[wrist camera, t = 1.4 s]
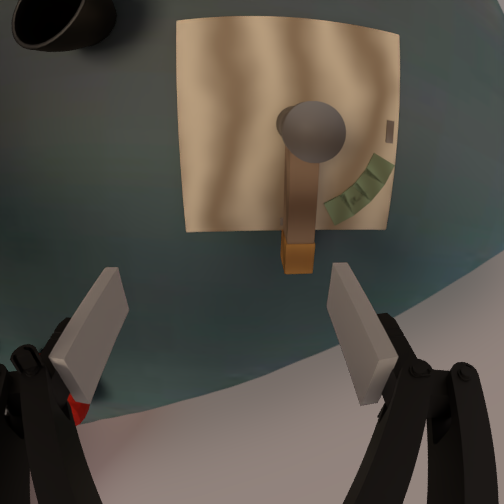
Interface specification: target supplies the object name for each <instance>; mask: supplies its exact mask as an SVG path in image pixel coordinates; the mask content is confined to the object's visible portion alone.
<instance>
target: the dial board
mask: <svg viewBox="0 0 504 504" xmlns="http://www.w3.org/2000/svg"><path fill="white" fill-rule="evenodd" d="M176 59H177V105H178V129H179V147H180V163H181V177H182V190H183V202H184V213H185V224H186V232H213V231H260V230H282V229H283V209H284V172H285V144H284V142H283V139H282V137H281V136H280V134H279V133H278V131H277V127H276V121H277V117H278V115H279V114H280V112H281V111H282V110H283V109H285V108H287V107H290V106H295V105H296V104H299V103H301V102H306V101H319V102H324V103H326V104H329V105H330V106H332V107H333V108H335V109H336V110H337V111H338V112H339V114H340V115H341V117H342V118H343V120H344V123H345V127H346V139H345V142H344V145H343V147H342V149H341V150H340V152H339V153H338V154H337V155H336V156H335V157H333V158H332V159H330V160H328V161H326V162H322V163H319V181H318V197H317V212H316V225H315V230H386V226H387V220H388V214H389V207H390V200H391V193H392V185H393V177H394V168H395V158H396V148H397V135H398V120H399V97H400V46H399V35H398V34H394V33H390V32H386V31H381V30H377V29H372V28H367V27H362V26H356V25H351V24H345V23H338V22H331V21H323V20H314V19H304V18H291V17H272V16H230V17H210V18H198V19H187V20H179V21H177V34H176Z"/></svg>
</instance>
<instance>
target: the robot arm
mask: <svg viewBox="0 0 504 504" xmlns="http://www.w3.org/2000/svg"><path fill="white" fill-rule="evenodd" d="M327 310H328V313H329V315H330V318H331V321H332V324H333V326H334V329H335V332H336V335H337V338H338V341H339V343H340V346H341V349H342V352H343V355H344V358H345V360H346V364H347V367H348V370H349V372H350V376H351V379H352V381H353V384H354V388H355V391H356V394H357V397H358V400H359V403H360V406H362V405H368V404H374V403H378V401H379V399H380V397H381V395H383V398H384V401H385V403H384V405H383V407H382V409H381V411H380V413H379V415H378V418H379V419H378V422H377V425H376V427H375V430H374V433H373V435H372V438H371V441H370V443H369V446H368V448H367V451H366V454H365V456H364V458H363V461H362V463H361V466H360V468H359V470H358V473H357V475H356V477H355V479H354V482H353V483H352V486H351V488H350V490H349V492H348V494H347V496H346V498H345V500H344V502H343V504H403V501H404V498H405V495H406V492H407V489H408V486H409V483H410V480H411V477H412V473H413V470H414V467H415V463H416V460H417V456H418V452H419V448H420V444H421V440H422V436H423V431H424V427H425V422H426V419H427V437H428V438H427V439H428V492H427V504H499V503H498V485H497V472H496V463H495V454H494V447H493V440H492V435H491V428H490V423H489V418H488V413H487V408H486V403H485V400H484V395H483V391H482V387H481V383H480V379H479V375H478V373H477V371H476V369H475V368H474V367H473V366H472V365H470V364H468V363H465V362H458V363H456V364H454V365H453V367H452V368H451V370H450V371H444V370H434V369H432V368H431V366H430V365H429V364H428V363H427V362H425V361H423V360H421V359H417V357H416V355H415V354H414V352H413V350H412V348H411V346H410V345H409V343H408V341H407V339H406V338H405V336H404V334H403V332H402V331H401V329H400V327H399V325H398V324H397V322H396V320H395V319H394V318H392V317H391V316H390V315H389V314H388V313H382V314H376V313H375V311H374V309H373V307H372V305H371V303H370V302H369V300H368V298H367V296H366V294H365V293H364V291H363V289H362V287H361V286H360V284H359V282H358V280H357V279H356V277H355V275H354V273H353V272H352V270H351V268H350V267H349V265H348V263H347V262H346V263H333V265H332V273H331V280H330V287H329V294H328V300H327ZM128 311H129V307H128V304H127V300H126V297H125V293H124V289H123V285H122V281H121V277H120V273H119V269H118V267H105V269H104V270H103V271H102V273H101V274H100V276H99V277H98V279H97V280H96V282H95V283H94V284H93V286H92V287H91V289H90V290H89V292H88V293H87V295H86V296H85V298H84V299H83V301H82V302H81V304H80V306H79V307H78V309H77V310H76V312H75V313H74V315H73V316H72V318H65V319H64V320H63V321H62V322H61V323H59V325H58V326H57V328H56V329H55V331H54V333H53V334H52V336H51V337H50V339H49V340H48V342H47V344H46V345H45V347H44V349H43V350H42V352H41V354H40V355H39V353H38V351H37V349H36V347H34V346H33V345H30V344H27V345H22V346H20V347H18V348H17V349H16V350H15V351H14V352H13V353H12V355H11V358H10V360H11V362H12V363H13V365H14V366H15V368H16V370H17V371H12V372H8V370H7V369H6V367H5V366H4V365H3V364H0V504H30V471H31V476H32V480H33V484H34V488H35V492H36V496H37V500H38V504H102V501H101V499H100V496H99V494H98V492H97V489H96V486H95V484H94V481H93V479H92V476H91V473H90V470H89V468H88V465H87V462H86V459H85V456H84V453H83V450H82V446H81V443H80V440H79V437H78V433H77V429H76V426H75V422H74V418H73V414H72V410H71V406H70V404H69V402H68V400H67V399H68V397H69V394H71V396H72V397H73V399H74V400H75V401H76V402H81V403H86V404H90V403H91V401H92V398H93V395H94V393H95V390H96V387H97V385H98V382H99V380H100V377H101V375H102V372H103V370H104V367H105V365H106V362H107V360H108V357H109V355H110V352H111V350H112V348H113V345H114V343H115V341H116V338H117V336H118V334H119V331H120V329H121V327H122V325H123V322H124V320H125V318H126V316H127V314H128ZM5 410H7V414H6V415H5Z"/></svg>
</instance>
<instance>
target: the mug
mask: <svg viewBox="0 0 504 504" xmlns="http://www.w3.org/2000/svg"><path fill="white" fill-rule="evenodd" d="M116 17H117V15H116V10H115V8H114V5H113V2H112V0H19V1H18V3H17V5H16V8H15V11H14V14H13V18H12V33H13V37H14V39H15V41H16V42H17V43H18V44H19V45H20V46H22V47H23V48H26V49H30V50H38V51H46V52H61V51H70V50H75V49H79V48H83V47H87V46H91V45H95V44H97V43H99V42H101V41H102V40H104V39H105V38H106V37H107V36H108V35H109V34H110V32H111V31H112V29H113V27H114V25H115V22H116Z"/></svg>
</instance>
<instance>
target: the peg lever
mask: <svg viewBox="0 0 504 504" xmlns="http://www.w3.org/2000/svg"><path fill="white" fill-rule="evenodd" d="M276 127H277V131H278V133H279V134H280V136H281V137H282V139H283V142H284V144H285V172H284V209H283V229H282V234H281V260H282V265H283V269H284V273H285V274H307V273H312V272H313V263H314V252H315V243H314V237H315V225H316V212H317V197H318V181H319V163H322V162H326V161H328V160H330V159H332V158H333V157H335V156H336V155H337V154H338V153H339V152H340V150H341V149H342V147H343V145H344V142H345V139H346V127H345V123H344V120H343V118H342V117H341V115H340V114H339V112H338V111H337V110H336V109H335V108H333V107H332V106H330V105H329V104H326V103H324V102H319V101H306V102H301V103H299V104H296V105H295V106H290V107H287V108H285V109H283V110H282V111H281V112H280V114H279V115H278V117H277V121H276Z"/></svg>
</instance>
